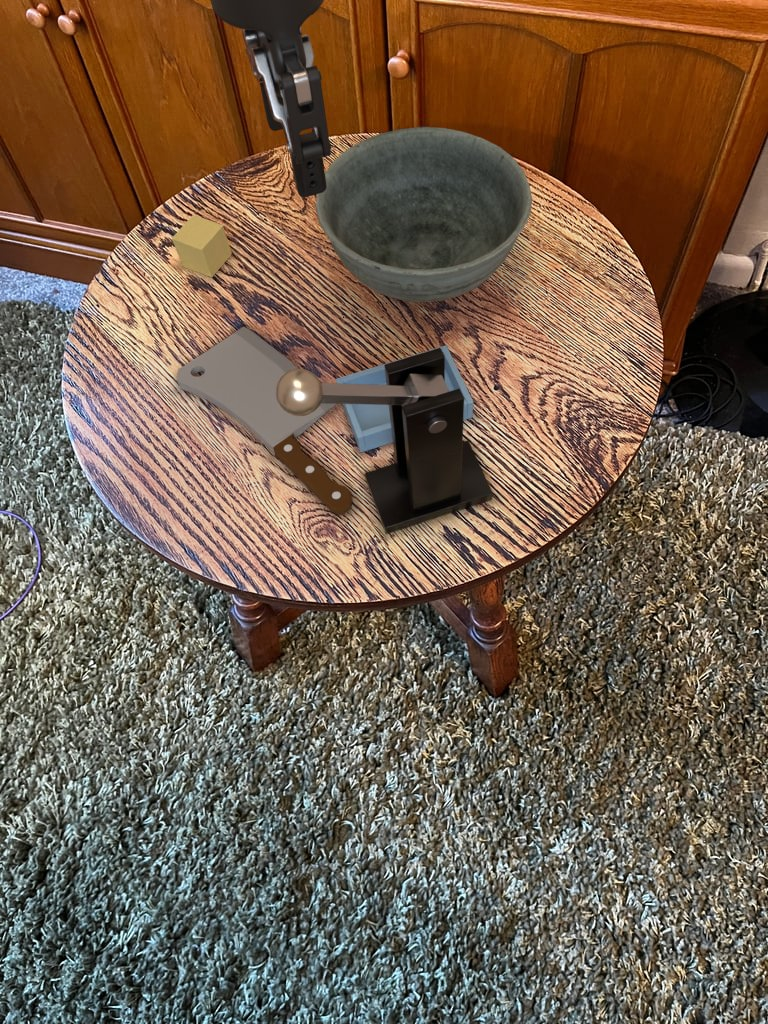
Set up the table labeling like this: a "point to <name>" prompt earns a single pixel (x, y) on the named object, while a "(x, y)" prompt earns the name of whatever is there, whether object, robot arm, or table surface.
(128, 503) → the table surface
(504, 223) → the bowl
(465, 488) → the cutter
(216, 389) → the kitchen cleaver
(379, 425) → the butter dish
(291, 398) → the cutter lever
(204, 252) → the butter pat
